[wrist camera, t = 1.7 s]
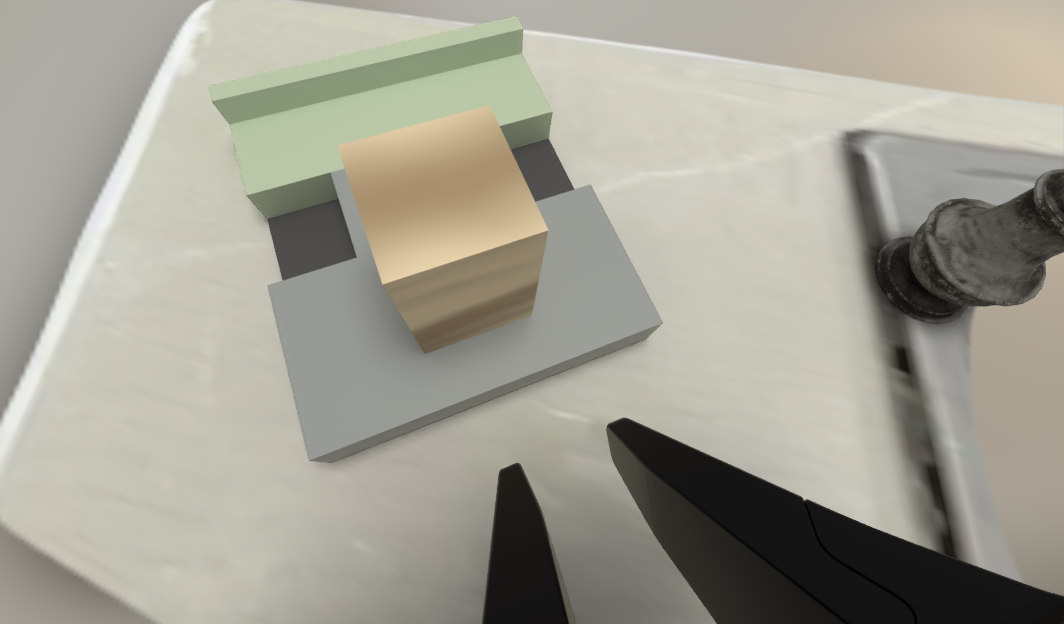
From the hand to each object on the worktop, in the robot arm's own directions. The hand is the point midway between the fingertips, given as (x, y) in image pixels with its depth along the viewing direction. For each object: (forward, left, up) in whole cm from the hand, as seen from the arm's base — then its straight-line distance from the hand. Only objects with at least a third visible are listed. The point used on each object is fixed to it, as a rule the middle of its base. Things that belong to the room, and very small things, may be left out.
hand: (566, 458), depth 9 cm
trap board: (+13, +1, -13) cm, 18 cm away
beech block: (+9, +1, -10) cm, 13 cm away
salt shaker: (+3, -24, -13) cm, 28 cm away
